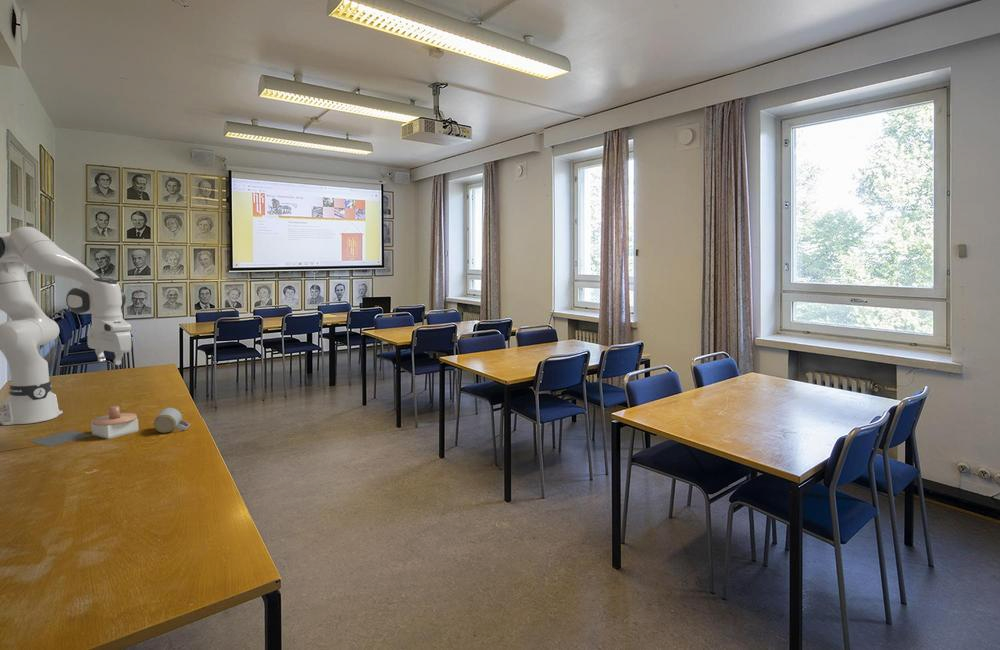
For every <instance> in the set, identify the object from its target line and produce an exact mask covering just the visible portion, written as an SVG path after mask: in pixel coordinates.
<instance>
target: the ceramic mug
mask: <svg viewBox="0 0 1000 650" xmlns="http://www.w3.org/2000/svg"><path fill="white" fill-rule="evenodd" d="M182 416H183V415H182V413H181V412H180V411H179V410H178V409H176V408H173V407H167V408H163V409H162V410H161V411H160V412H159V413H158V414H157V415H156V417H155V419H154V420H153V421H154V422H153V426H154V429H155V430H156V431H158V432H159V433H162V434H167V433H170V432H173V431H174V430H175V429H176V430H179V431H186V430H189V427H190V423H189V422H187V420H183V417H182Z"/></svg>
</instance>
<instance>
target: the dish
mask: <svg viewBox="0 0 1000 650" xmlns="http://www.w3.org/2000/svg"><path fill="white" fill-rule="evenodd" d="M90 426H91V435H92V436H94V437H99V438H103V439H107V440H111V439H114V438H118V437H122V436H126V435H130V434H132V433H133V434H134V433H136V432H139V431H140V430H139V418H138V417H137V418H136V419H135V420H133V421H130V422H127V423H122V424H117V425H107V426H98V425H93V424H92V421H91V422H90Z"/></svg>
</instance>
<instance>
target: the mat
mask: <svg viewBox="0 0 1000 650" xmlns="http://www.w3.org/2000/svg"><path fill="white" fill-rule="evenodd" d="M90 437H93V435H92V434H89V433H83V432H80V431H78V430H77V431H76V430H67V431H63V432H59V433H55V434H54V433H53V434H51V435H47V436H43V437H39V438H34V439H30V440H28V442H30V443H34V444H37V445H41V446H42V447H43V446H44V447H47V448H51V447H54V446H58V445H63V444H66V443H70V442H73V441H78V440H81V439H86V438H90Z"/></svg>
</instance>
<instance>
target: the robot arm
mask: <svg viewBox="0 0 1000 650" xmlns="http://www.w3.org/2000/svg"><path fill="white" fill-rule="evenodd" d="M25 264H26V266H28V267H29V268H30V269H31V270H33V271H35V272H36V273H38V274H41V275H46V276H53V277H54V276H55V277H61V278H66V279H70V280H74V281H76V282H78V283H80V284H81V286H77V287H73V288H71V289H70V290H69V291H68V292H67V294H66V297H65V298H66V299H65V301H66V305H67V308H68V309H69V311H71V312H73V313H74V314H78V315H88V314H89V315H90V314H91V325H90V328H88V330H87V346H88V348H89V349H93V350H94V351H95V354H96V356H97V361H98V362H99V363H103V362H104V363H105V362H107V361H106V358H107V357H106V356H105V353H104V352H110V353H114V356H115V357H114V359H113V365H115V366H120V365H121V364H122V359H123V357H124V354H125V353H130V352H131V350H132V334H131V332H130V331H132V325H131V324H130V323H129V322H128V321H126V320H125V319H124V316H123V312H122V309H123V308H124V307H125V305H126V302H127V298H126V297H127V296H126V294H125V292H124V290H122V288H121V285H120V283H119V282H118V281H117V280H115V279H113V278H107V277H102V276H101V275H100V274H99V273H97V272H96V271H95V270H93V268H91V267H90V266H88V265H87V264H86V263H84V262H83V261H81V260H80V259H78V258H75V257H74V256H72V255H71V254H69V253H67V252H66V251H65V250H63V249H62V248H61V247H59V245H57V244H56V243H55V242H54V241H53V240H52V239H51V238H49V236H47V235H46V234H44V233H43V232H41V231H40V230H39V229H37V228H35V227H32V226H19V227H16V228H15V229H13V230H12V231H5V232H0V311H2V312H4V313H5V314H6V315H7V316H8V317H9V318H10V319H11V320H10V321H6V322H2V323H0V351H1V353H2V354H3V356H4V357H5V360H6V362H7V364H8V368H9V376H10V384H11V385H9V389H8V391H9V392H8V394H9V395H8V397H6V398H5V400H4V401H3V402H2V403H1V405H0V413H1V414H0V424H1V425H2V426H11V425H26V424H34V423H35V424H36V423H40V422H45V421H50V420H53V419H55V418H57V417H58V416H60V415H61V414H64V413H63V410H60V409H59V403H58V399H57V395H56V393H54V392H53V391H52V386H53V385H52V381H51V380H50V372H49V370H50V369H49V363H48V360H46V359H45V358H43V357H42V356H41V355H40V353H39V351H38V346H43V345H47V344H49V343H51V342H53V341H54V340H56V339H57V338H58V337H59V335H60V327H59V324H58V323H57V322H56V321H55V320H53V319H51V318H50V317H48V315H46V314H45V312H44V310H42V308H41V307H40V306H39V304H38V303H37V301H36V299H35V296H34V294H33V291H32V289H31V285H30V283H29V280H28V277H27V274H26V273H25V269H24V266H25Z"/></svg>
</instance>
